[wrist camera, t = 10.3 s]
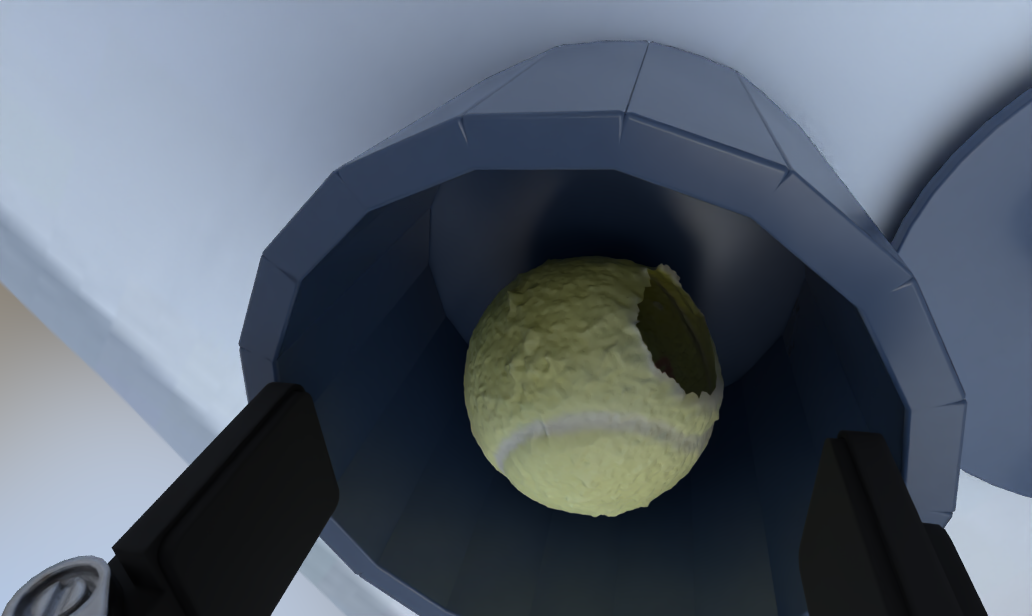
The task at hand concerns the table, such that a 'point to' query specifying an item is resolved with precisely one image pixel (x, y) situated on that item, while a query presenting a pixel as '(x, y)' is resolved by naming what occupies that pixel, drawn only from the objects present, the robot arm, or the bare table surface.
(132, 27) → the table surface
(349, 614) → the table surface
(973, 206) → the tin lid
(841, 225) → the tin
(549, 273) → the tennis ball
